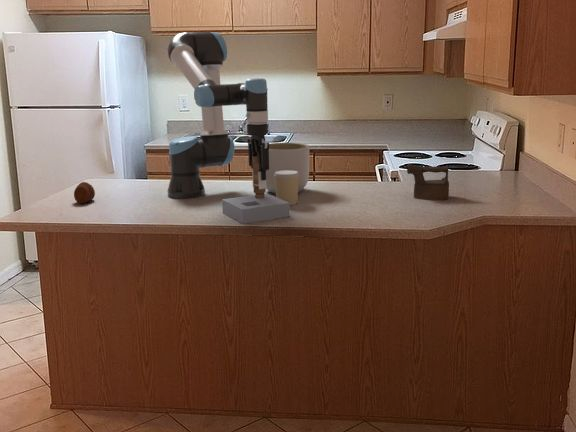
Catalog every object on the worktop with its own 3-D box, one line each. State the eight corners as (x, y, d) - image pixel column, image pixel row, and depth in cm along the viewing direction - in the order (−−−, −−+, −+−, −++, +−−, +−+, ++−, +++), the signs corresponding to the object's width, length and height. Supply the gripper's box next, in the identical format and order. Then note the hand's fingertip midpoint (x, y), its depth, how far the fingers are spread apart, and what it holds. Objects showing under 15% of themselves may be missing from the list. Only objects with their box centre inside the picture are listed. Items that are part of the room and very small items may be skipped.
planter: (282, 199, 250) (281, 151, 246) (249, 191, 266) (248, 146, 261) (320, 191, 264) (319, 145, 259) (287, 184, 279) (286, 141, 274)
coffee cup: (298, 199, 249) (298, 169, 246) (299, 205, 240) (299, 174, 237) (274, 200, 249) (273, 170, 246) (275, 206, 240) (274, 174, 237)
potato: (70, 205, 248) (68, 185, 246) (79, 198, 259) (77, 179, 257) (90, 205, 248) (87, 185, 246) (98, 198, 259) (96, 179, 257)
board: (222, 212, 231) (222, 199, 230) (267, 206, 239) (266, 193, 238) (242, 223, 216) (242, 209, 215) (289, 216, 224) (289, 202, 223)
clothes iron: (405, 195, 252) (406, 162, 249) (446, 195, 251) (447, 161, 248) (407, 200, 245) (408, 165, 241) (449, 199, 244) (451, 165, 240)
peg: (251, 196, 233) (250, 156, 229) (262, 195, 235) (261, 155, 231) (256, 199, 229) (255, 158, 225) (268, 197, 231) (267, 156, 227)
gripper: (237, 121, 231) (240, 184, 237) (258, 126, 216) (260, 193, 222) (256, 120, 234) (258, 182, 240) (278, 124, 219) (279, 190, 225)
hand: (259, 187), depth 231 cm, fingers closed on peg, 4 cm apart
